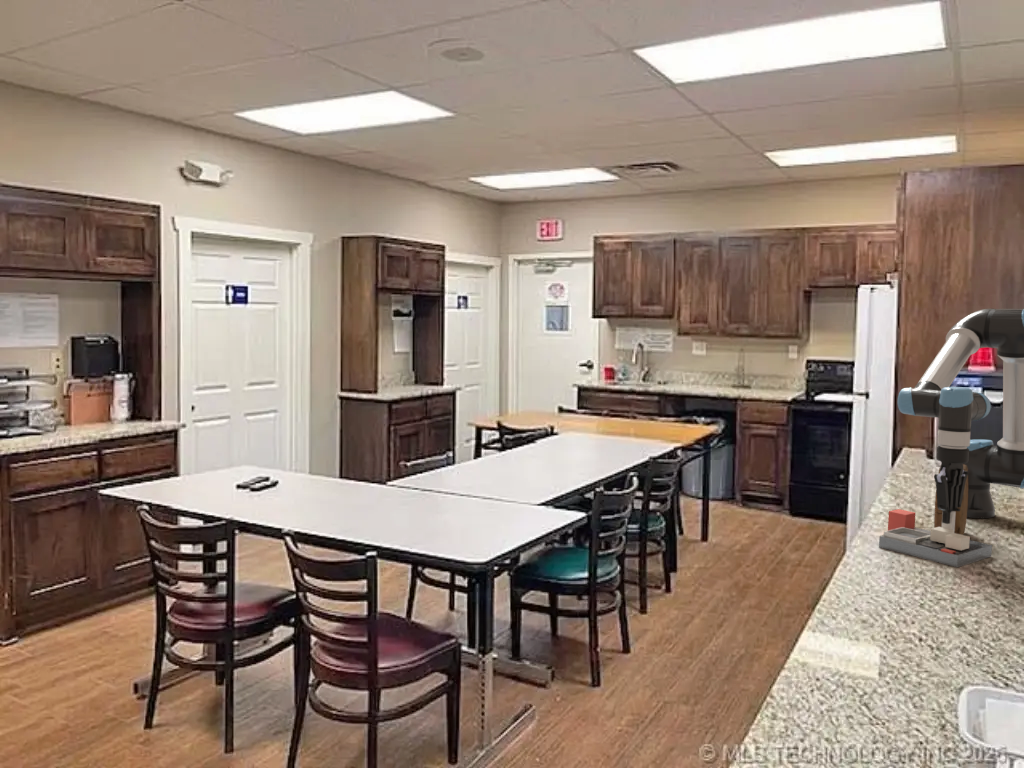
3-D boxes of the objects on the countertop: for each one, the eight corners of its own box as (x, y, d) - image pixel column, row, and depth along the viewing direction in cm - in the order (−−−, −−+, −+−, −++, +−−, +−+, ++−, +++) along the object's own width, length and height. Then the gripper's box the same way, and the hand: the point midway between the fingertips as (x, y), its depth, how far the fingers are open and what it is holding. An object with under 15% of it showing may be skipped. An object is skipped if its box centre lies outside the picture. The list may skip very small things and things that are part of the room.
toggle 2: (953, 544, 219) (954, 532, 218) (969, 548, 215) (969, 536, 215) (945, 546, 216) (945, 535, 216) (960, 550, 213) (961, 538, 213)
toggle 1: (938, 537, 225) (938, 526, 224) (953, 541, 221) (954, 530, 221) (930, 540, 222) (930, 528, 222) (945, 543, 219) (945, 532, 219)
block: (960, 539, 236) (964, 468, 234) (931, 534, 241) (935, 465, 239) (968, 531, 245) (972, 463, 243) (940, 527, 249) (944, 460, 247)
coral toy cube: (897, 533, 243) (898, 509, 242) (914, 537, 239) (915, 512, 238) (887, 535, 240) (888, 511, 239) (904, 539, 236) (905, 515, 235)
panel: (913, 537, 238) (914, 523, 237) (991, 556, 220) (992, 540, 220) (878, 547, 228) (879, 531, 228) (957, 567, 211) (958, 550, 210)
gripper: (951, 442, 228) (946, 528, 230) (925, 446, 221) (920, 535, 223) (980, 446, 222) (974, 534, 224) (954, 450, 214) (948, 542, 217)
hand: (947, 535), depth 223 cm, fingers closed
